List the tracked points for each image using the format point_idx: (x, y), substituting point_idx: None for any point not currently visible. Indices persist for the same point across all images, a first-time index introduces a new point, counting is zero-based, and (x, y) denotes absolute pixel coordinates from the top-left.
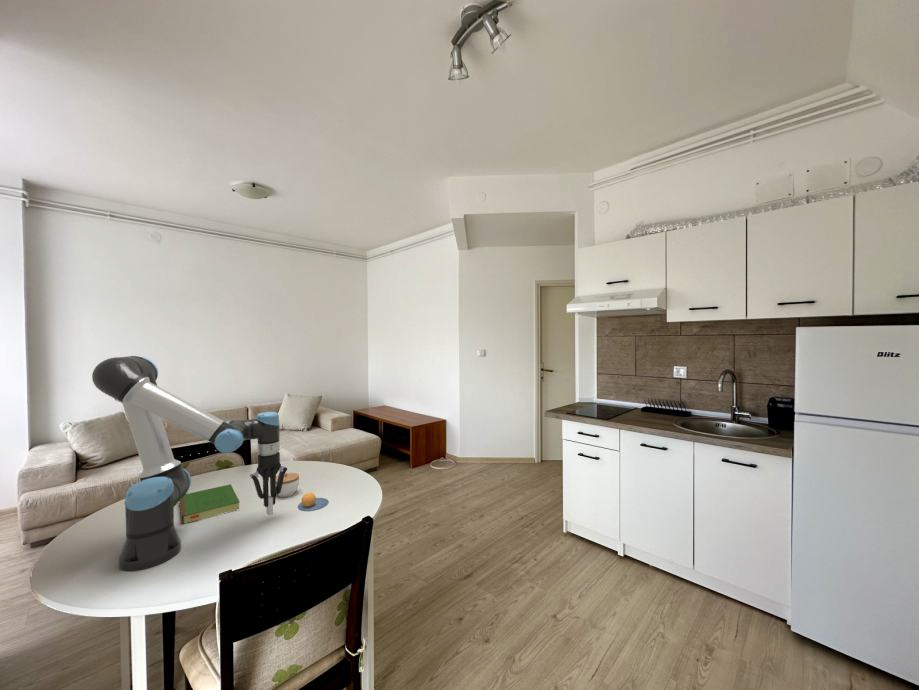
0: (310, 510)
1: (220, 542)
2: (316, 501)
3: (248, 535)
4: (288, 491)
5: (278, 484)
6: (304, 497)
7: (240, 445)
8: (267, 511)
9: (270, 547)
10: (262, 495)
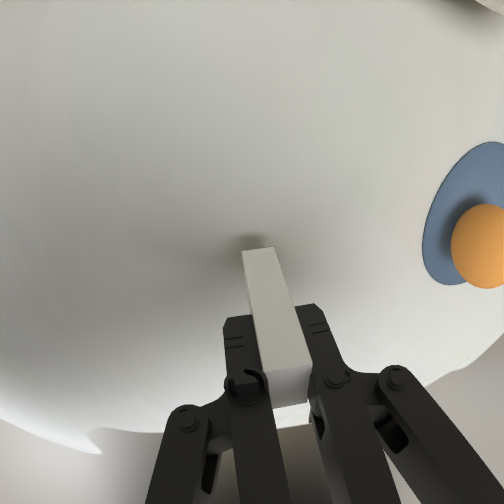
0: (437, 280)
1: (39, 340)
2: (500, 203)
3: (133, 353)
4: (487, 5)
5: (410, 471)
6: (481, 276)
7: None
8: (246, 286)
9: None
10: (213, 459)
